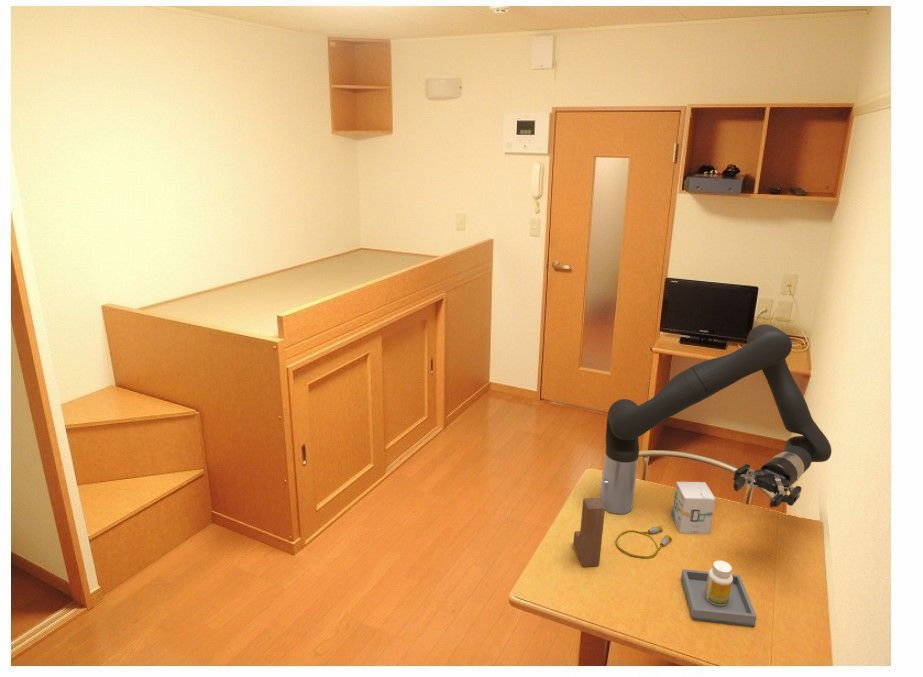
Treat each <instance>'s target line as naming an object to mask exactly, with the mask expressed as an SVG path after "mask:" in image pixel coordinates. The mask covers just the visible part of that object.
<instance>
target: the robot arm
mask: <svg viewBox="0 0 923 677" xmlns="http://www.w3.org/2000/svg"><path fill="white" fill-rule="evenodd" d="M792 349H793V341H792V339H791V337H790V336H789V335H788V334H787V333H786V332H784V331H783V330H781V329H780V328H778V327H776V326H775V325H771V324H765V323H764V324H760V325H759V324H758V325H756V326H755V327H752V329H751V330H750V331H749V333H748V334H747V338H746V344H744V346H742V347H740V348H738V349H736V350H735V351H733V352H730V353H729V354H728V353H727V354H726V355H723V356H719V357H715V358H710V359H707V360H703V361H700V362H698V363H696V364H694V365H692V366H689V367H688V368H686V369H684V370H682V371H681V372H679V373H677V374H676V375H674V376H673V377H672V378H671V379H670V380H669V381H668V382H666V384H665V385H664V386H663V387H662V388H661V389H660V390H659V391H658V393H656V394H655V395H654V396H652V398H651V397H650V399H648V400H647V401H645V402H643V403H641V404H637V403H636V402H635V401H633V400H630V399H627V398H623V399H618V400H616V401H615V402H613V403H612V405H610V406H609V409H608V412H607V418H606V426H605V428H606V430H605V454H604V463H603V471H602V472H601V482H600V492H599V494H600V495H599V498H600V499H601V501H602V503H603V504H604V506H605V512H606V511H607V512H609V513H611V514H616V515H625V514H629V513H630V512H631V511H632V509H633V504H634V496H635V487H636V478H637V472H638V465H639V464H638V462H639V455H640V442H639V438H640V437H641V436H643V435H644V434H646V433H648V432H649V431H650V430H652V429H653V428H655V427H656V426H658V425H659V424H661V423H662V422H665V421H666V420H667V419H670V418H671V417H673V416H675V415H677V414H678V413H680V412H683V411H684V410H686V409H688V408H690V407H691V406H694V405H696V404H699V403H700V402H702V401H704V400H706V399H708V398H709V397H711V396H713V395H715V394H717V393H719V392H720V391H722V390H724V389H726V388H728V387H730V386H732V385H733V384H735V383H736V382H738V381H740V380H742V379H744V378H746V377H748V376H750V375H753V374H754V373H757V372H759V371H762V373H763V375H764V377H765V379H766V382H767V384H768V387H769V389H770V392H771V394H772V397H773V399H774V403H775V405H776V408H777V411H778V414H779V416H780V418H781V421H782V424H783V426H784V429H786V431H787V432H789V433H792V434H797V435H796V436H792V437H790V438H788V439H787V441H786V443H785V446H784V449H783V451H780V453H778V454H775V455H774V456H773V457H772V458H771V459H769V460H768V461H767V462H765V463H764V464H763V465H762V466H761V467H760V468H759V469H753V468H750V467H751V464H748V463H745V464H743V465H742V466H741V467H738V468H737V469H736V470H734V474H733V481H734V482H733V490H734V491H736V492H739V491H740V490H741V489H742V488H743V487H744V486H749V487H750V488H754V487H755V488H760V489H763V490H765V491H767V492H769V493H772V494H773V497H772V498H771V499H770V503H769V507H770V508H772V509H774V507H775V508H777V507H779V506H780V505H781V504H784V503H786V504H787V505H788V506H790V507H792V506H794V504H795V503H796V502H797V500H799V498H800V497H801V492H802V486H799V485H796V486H792V485H794V484H795V483H796V482H798V481H799V479H800V478H801V477H802V475H803V474H804V473H805V472H806V471H807V470H808V469H809V468H810V466H811V465H812V463H823V462H824V463H825V462H827V461H828V460H829V459H830V458H831V457H832V456H831V455H832V446H831V443H830V441H829V439H828V437H826V435H825V434H824V433H823V431H822V430H821V429H820V427H819V426H818V424H817V423H816V421H815V420H814V419H813V417H812V414H811V411H810V409H809V406H808V403H807V401H806V400H805V397H804V395H803V393H802V390H800V387H799V386H798V384H797V381H796V380H795V379H794V377H793V375H792V372H791V370H790V368H789V366H788V364H787V361H786V358H788V357H789V355H790V354H791V351H792ZM746 479H747V480H746ZM786 492H789V494H787V493H786Z"/></svg>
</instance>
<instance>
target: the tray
mask: <svg viewBox="0 0 923 677" xmlns="http://www.w3.org/2000/svg"><path fill="white" fill-rule="evenodd" d="M681 570H682V571H681V577H680V581H681V584H682V588H683V591H684V595H685V599H686V602H687V607H688V606H689V607H688V609H689V614H690V617H691V620H692V621H697V622H707V623H714V624H715V623H716V624H723V625H731V626H732V625H733V626H742V627H750V628H755V627H756V622H757V619H758V618H757V617H758V616H757V615H756V612H755V608H754V607H753V605H752V601H751V599H750V596H749V594H748V592H747V590H746V587H745V584H744V582H743V579H742V578H741V574H735V573H731V574H732V577H733V582H732V586H731V591H730V596H729V601H728V603H727V604H726V605H724V606H716V605H714V604H712V603H710V602H709V601H708V600H707V599H706V598H705V588H706V583H707V578H708V573H709V571H705V570H696V569H685V568H682V569H681Z"/></svg>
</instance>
